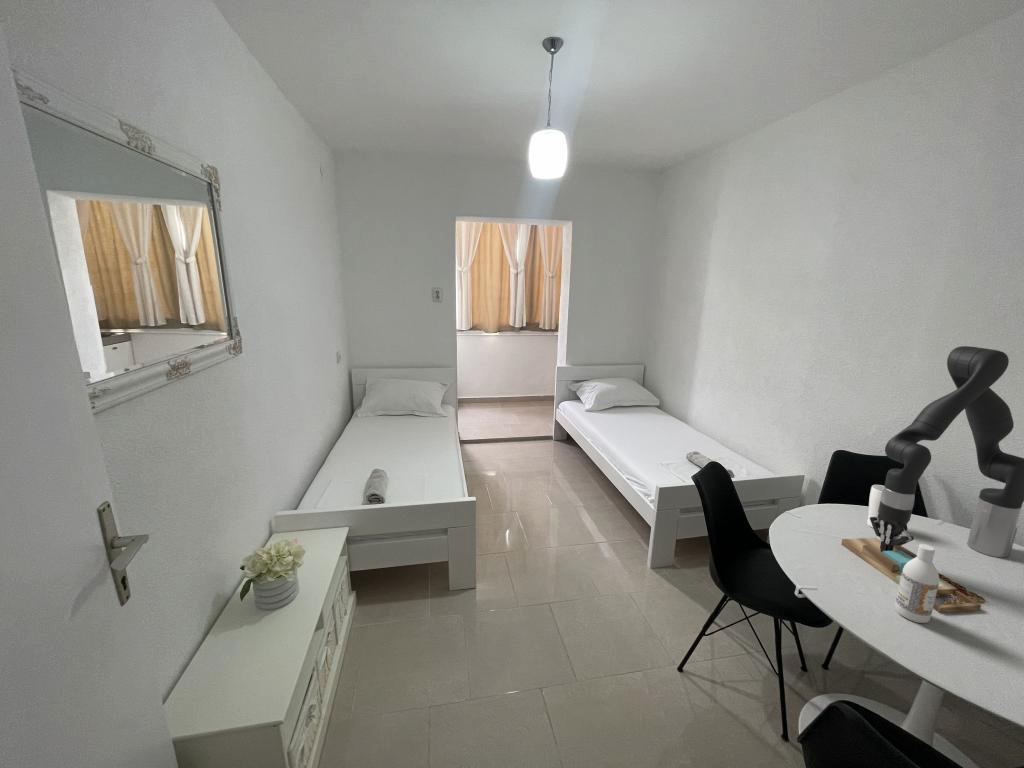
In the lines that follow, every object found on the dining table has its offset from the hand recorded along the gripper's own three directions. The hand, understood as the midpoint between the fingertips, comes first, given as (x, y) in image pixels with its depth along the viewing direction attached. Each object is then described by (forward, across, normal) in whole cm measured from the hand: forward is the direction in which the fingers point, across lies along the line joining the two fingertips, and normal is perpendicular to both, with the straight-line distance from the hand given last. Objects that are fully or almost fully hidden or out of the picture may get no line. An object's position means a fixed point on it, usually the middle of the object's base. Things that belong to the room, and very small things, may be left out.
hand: (885, 552), depth 135 cm
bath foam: (+3, -22, +14) cm, 26 cm away
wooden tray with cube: (+3, -6, 0) cm, 7 cm away
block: (+1, -5, 0) cm, 5 cm away
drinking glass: (+3, +19, -16) cm, 25 cm away
